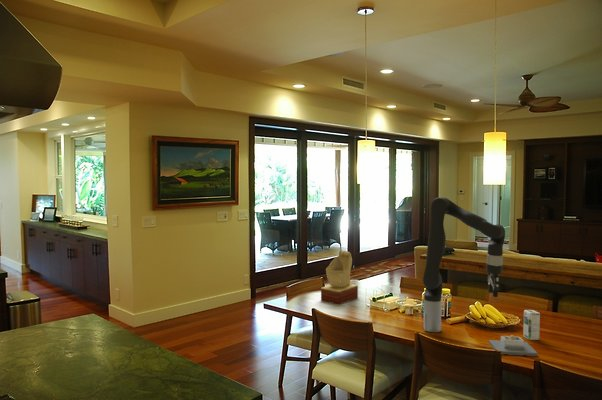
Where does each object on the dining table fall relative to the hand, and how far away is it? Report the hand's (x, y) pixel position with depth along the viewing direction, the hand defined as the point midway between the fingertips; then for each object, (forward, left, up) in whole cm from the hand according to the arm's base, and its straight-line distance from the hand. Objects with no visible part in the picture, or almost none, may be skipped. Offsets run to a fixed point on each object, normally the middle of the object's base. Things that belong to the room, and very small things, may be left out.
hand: (492, 294), depth 220 cm
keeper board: (+7, -7, -25) cm, 27 cm away
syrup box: (+22, +11, -26) cm, 35 cm away
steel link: (+7, -7, -24) cm, 26 cm away
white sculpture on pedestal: (-84, +77, -26) cm, 116 cm away
